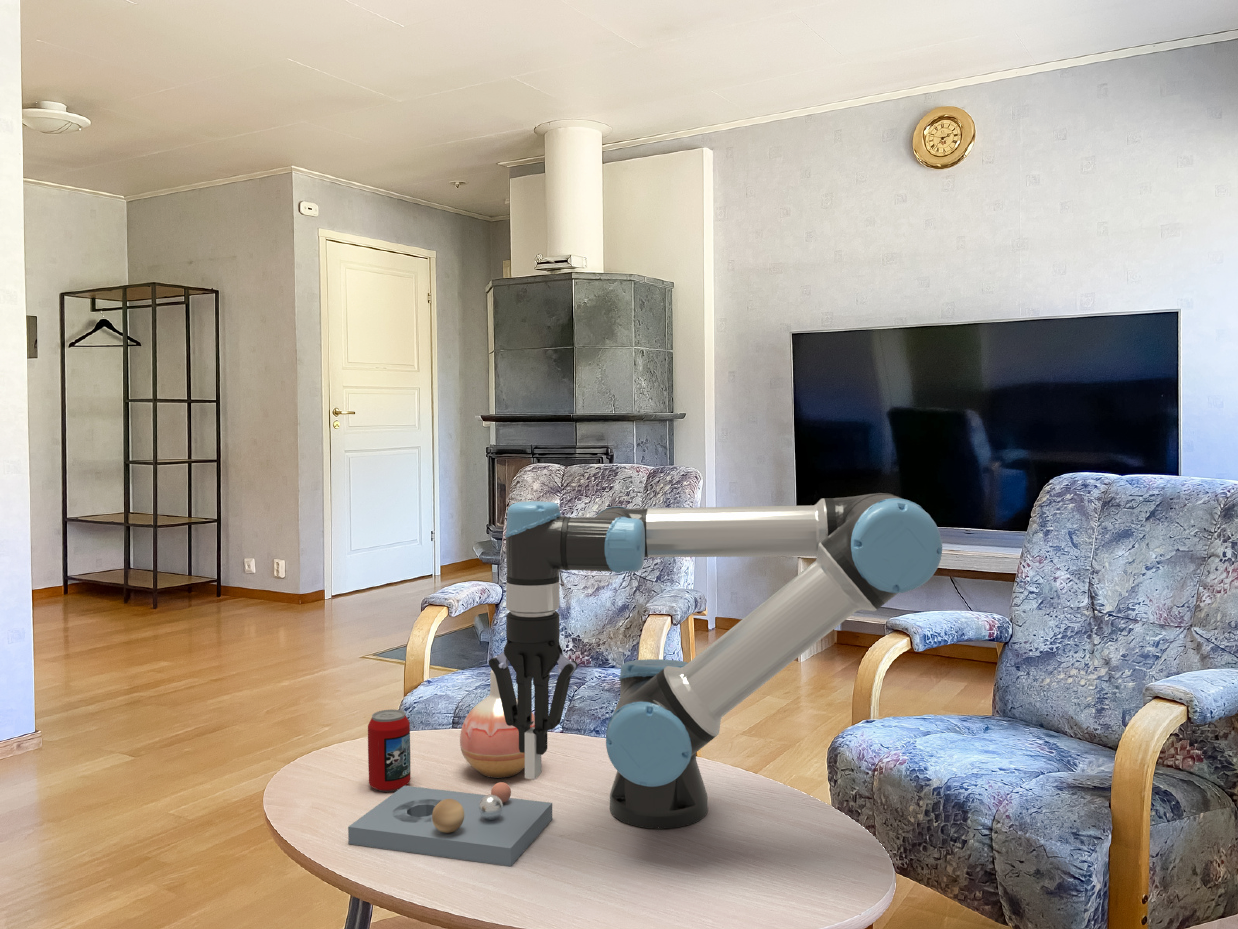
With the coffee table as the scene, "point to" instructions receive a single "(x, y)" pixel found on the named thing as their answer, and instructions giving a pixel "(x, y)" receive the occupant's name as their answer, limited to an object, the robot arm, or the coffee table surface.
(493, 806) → the steel ball
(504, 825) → the plate
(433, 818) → the wooden ball
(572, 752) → the coffee table surface
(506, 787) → the rubber ball
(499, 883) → the coffee table surface
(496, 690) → the vase
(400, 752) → the beverage can
